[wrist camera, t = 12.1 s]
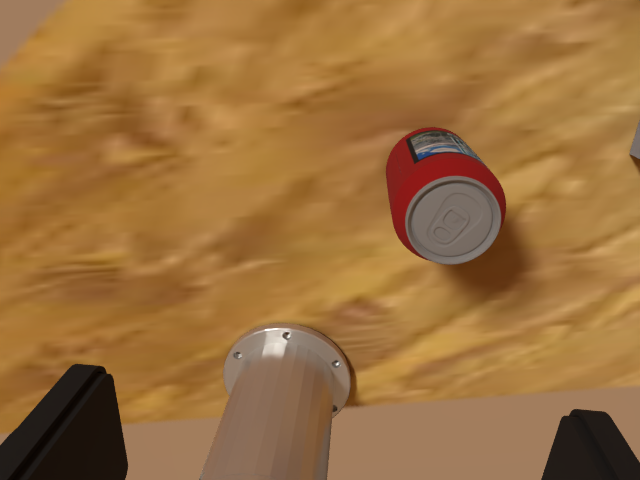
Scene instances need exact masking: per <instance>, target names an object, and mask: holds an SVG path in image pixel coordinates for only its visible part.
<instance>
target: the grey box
mask: <svg viewBox="0 0 640 480" xmlns="http://www.w3.org/2000/svg"><path fill="white" fill-rule="evenodd" d="M630 155H632V156H634V157H637V158H639V159H640V121H639V125H638V128H637V131H636V134H635V138H634V141H633V144H632V147H631V151H630Z"/></svg>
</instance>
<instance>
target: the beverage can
mask: <svg viewBox="0 0 640 480" xmlns="http://www.w3.org/2000/svg"><path fill="white" fill-rule="evenodd" d="M386 178H387V187H388V195H389V202H390V209H391V214H392V220H393V225H394V228H395V231H396V234H397V236H398V238H399V239H400V241H401V242H402V243H403V244H404V246H405V247H406V248H407V249H409V250H410V251H411V252H412V253H414V254H415V255H417V256H419V257H421V258H423V259H426V260H429V261H433V262H436V263H440V264H449V265H451V264H460V263H464V262H468V261H470V260H472V259H475V258H477V257H478V256H480V255H481V254H482V253H484V252H485V251H486V250H487V249H488V248H489V247H490V246H491V245H492V243H493V242H494V240H495V239H496V237H497V235H498V233H499V231H500V229H501V227H502V224H503V222H504V218H505V213H506V200H505V195H504V192H503V189H502V187H501V185H500V183H499V181H498V180H497V178H496V177H495V176H494V175H493V173H492V172H491V171H490V170H489V169H488V167H487V166H486V165H485V164H484V163H483V162H482V161H481V159H480V158H479V157H478V156H477V155H476V154H475V153H474V152H473V150H472V149H471V148H470V147H469V146H468V145H467V144H466V143H465V142H464V141H463V140H462V139H461V138H460V137H459V136H457V135H456V134H454V133H453V132H451V131H448V130H446V129H442V128H435V127H430V128H423V129H419V130H416V131H413V132H411V133H409V134H408V135H406V136H405V137H403V138H402V139H401V140H400V141H399V142H398V143H397V144H396V145H395V147H394V148H393V150H392V151H391V153H390V155H389V158H388V161H387V166H386Z"/></svg>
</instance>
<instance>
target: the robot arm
mask: <svg viewBox="0 0 640 480" xmlns="http://www.w3.org/2000/svg"><path fill="white" fill-rule="evenodd" d="M223 375H224V383H225V387H226V390H227V392H228V394H229V396H230V397H229V399H228V402H227V405H226V407H225V410H224V413H223V416H222V418H221V421H220V424H219V427H218V429H217V432H216V435H215V437H214V440H213V443H212V446H211V448H210V452H209V454H208V456H207V459H206V462H205V465H204V467H203V470H202V473H201V476H200V478H199V480H327V471H328V459H329V447H330V435H331V423H332V418H333V417H334V416H336V415H337V414H338V413H339V412H340V411H341V409H342V408H343V407H344V405H345V403H346V401H347V399H348V397H349V392H350V386H351V375H350V369H349V366H348V363H347V361H346V358H345V356H344V355H343V353H342V352H341V350H340V349H339V348H338V347H337V346H336V345H335V344H334V343H333V342H332V341H331V340H330V339H328V338H327V337H325V336H324V335H323V334H321V333H319V332H317V331H315V330H313V329H311V328H307V327H304V326H301V325H296V324H288V323H276V324H269V325H264V326H260V327H258V328H255V329H253V330H250V331H249V332H247V333H246V334H244V335H243V336H241V337H240V338H239V339H238V340H237V341H236V342H235V343H234V345H233V346H232V348H231V350H230V351H229V353H228V356H227V359H226V361H225V365H224V370H223ZM127 470H128V462H127V455H126V450H125V444H124V438H123V433H122V426H121V421H120V415H119V409H118V403H117V397H116V392H115V386H114V380H113V376H112V375H111V374H107V373H106V370H105V368H104V367H102V366H94V365H83V364H75V365H72V366H71V367H70V368H69V369H68V370H67V371H66V373H65V374H64V375H63V376H62V377H61V378H60V379H59V381H58V382H57V383H56V384H55V385H54V386H53V387H52V389H51V390H50V391H49V392H48V393H47V394H46V396H45V397H44V398H43V399H42V400H41V401H40V402H39V404H38V405H37V406H36V407H35V408H34V409H33V410H32V412H31V413H30V414H29V415H28V416H27V417H26V419H25V420H24V421H23V422H22V423H21V424H20V425H19V427H18V428H17V429H15V430H14V431H13V432H12V433H11V434H10V435H9V436H8V437H7V439H6V440H5V441H4V442H3V443H2V444H1V445H0V480H125V478H126V475H127ZM541 480H640V462H639V461H638V459H637V458H636V457H635V455H634V453H633V452H632V450H631V448H630V447H629V445H628V444H627V442H626V440H625V439H624V437H623V436H622V434H621V433H620V431H619V429H618V428H617V426H616V425H615V423H614V422H613V420H612V418H611V417H610V416H609V415H608V414H607V413H606V412H602V411H591V410H580V409H574V410H572V411H571V413H570V415H569V416H563V417H562V419H561V421H560V424H559V427H558V430H557V433H556V436H555V439H554V442H553V445H552V448H551V452H550V454H549V458H548V461H547V464H546V467H545V470H544V473H543V476H542V479H541Z"/></svg>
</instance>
